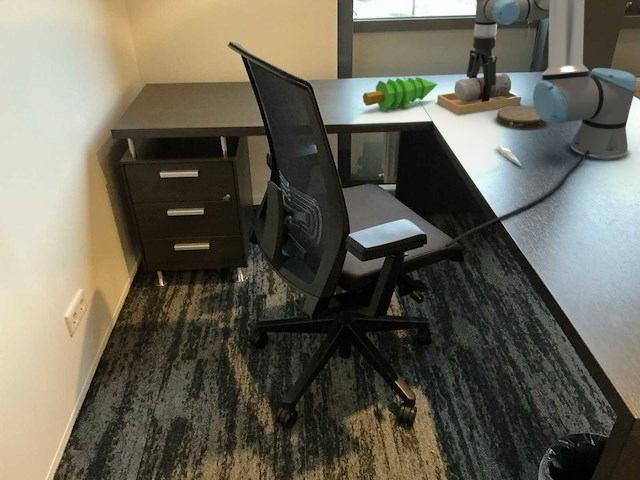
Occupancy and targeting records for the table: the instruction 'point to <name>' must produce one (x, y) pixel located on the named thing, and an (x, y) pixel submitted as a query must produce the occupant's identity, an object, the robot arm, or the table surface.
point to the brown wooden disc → (519, 117)
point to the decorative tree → (398, 92)
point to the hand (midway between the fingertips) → (478, 100)
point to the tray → (477, 103)
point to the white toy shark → (508, 155)
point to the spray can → (481, 88)
